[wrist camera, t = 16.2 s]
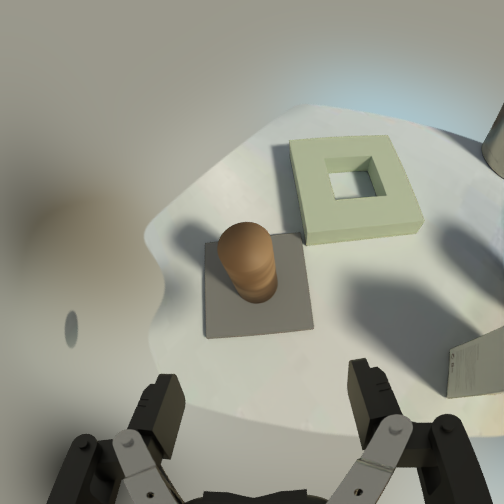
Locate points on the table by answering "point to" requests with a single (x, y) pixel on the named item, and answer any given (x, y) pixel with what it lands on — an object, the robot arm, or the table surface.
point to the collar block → (356, 209)
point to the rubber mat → (263, 314)
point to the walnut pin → (249, 261)
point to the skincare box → (477, 366)
